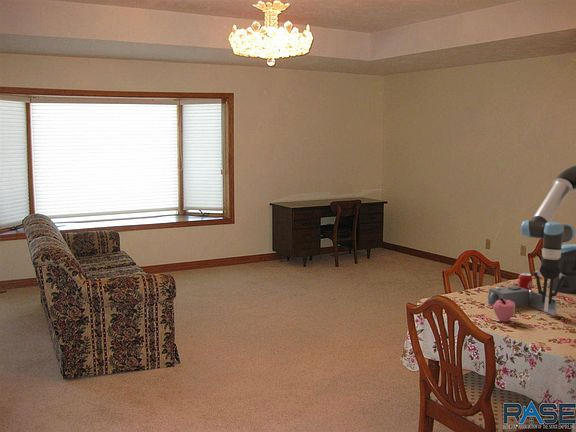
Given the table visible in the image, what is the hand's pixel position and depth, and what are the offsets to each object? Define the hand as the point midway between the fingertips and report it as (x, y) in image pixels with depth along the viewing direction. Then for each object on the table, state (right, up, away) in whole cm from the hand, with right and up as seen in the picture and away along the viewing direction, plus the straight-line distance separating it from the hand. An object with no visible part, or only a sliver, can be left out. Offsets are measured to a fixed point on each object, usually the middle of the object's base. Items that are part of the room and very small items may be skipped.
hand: (546, 310), depth 271 cm
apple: (-22, -3, -9) cm, 24 cm away
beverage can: (0, +2, +26) cm, 26 cm away
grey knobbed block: (-12, 0, +15) cm, 19 cm away
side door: (+1, -1, +6) cm, 7 cm away
